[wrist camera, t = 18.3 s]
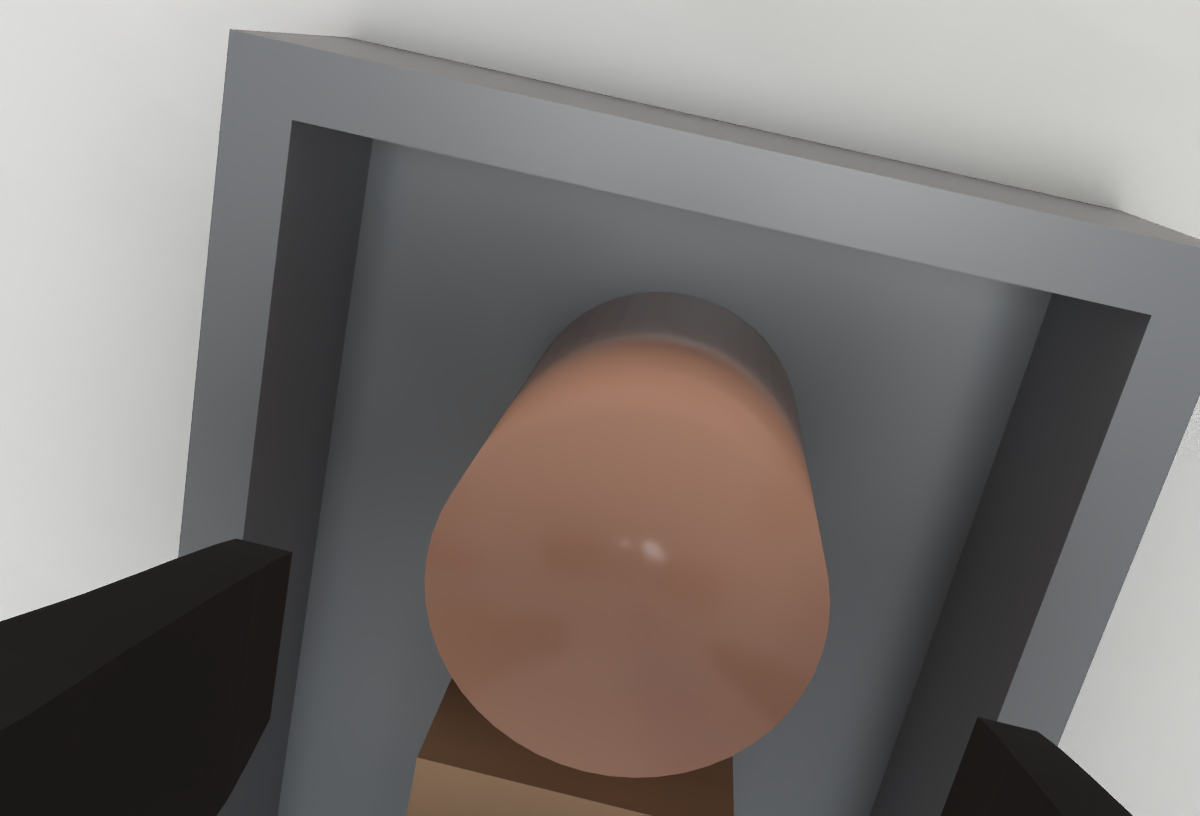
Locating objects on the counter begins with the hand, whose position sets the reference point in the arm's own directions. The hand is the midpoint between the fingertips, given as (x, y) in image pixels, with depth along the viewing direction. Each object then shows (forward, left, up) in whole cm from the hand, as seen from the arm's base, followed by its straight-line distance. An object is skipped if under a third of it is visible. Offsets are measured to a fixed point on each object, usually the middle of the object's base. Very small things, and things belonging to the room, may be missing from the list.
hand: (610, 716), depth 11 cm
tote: (-4, 0, -10) cm, 11 cm away
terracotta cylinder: (0, 0, -9) cm, 9 cm away
